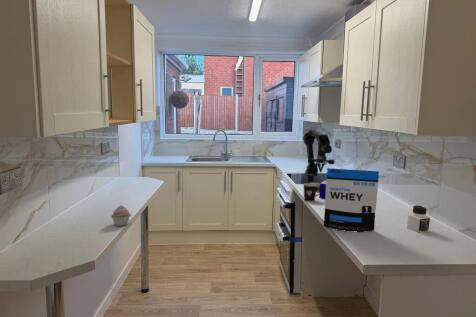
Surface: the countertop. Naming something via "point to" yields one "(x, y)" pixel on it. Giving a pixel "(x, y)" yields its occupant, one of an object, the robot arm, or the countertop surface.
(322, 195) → the puzzle cube
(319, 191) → the trap box
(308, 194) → the coffee mug
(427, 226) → the medicine bottle
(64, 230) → the countertop surface
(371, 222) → the protein powder
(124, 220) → the cupcake
